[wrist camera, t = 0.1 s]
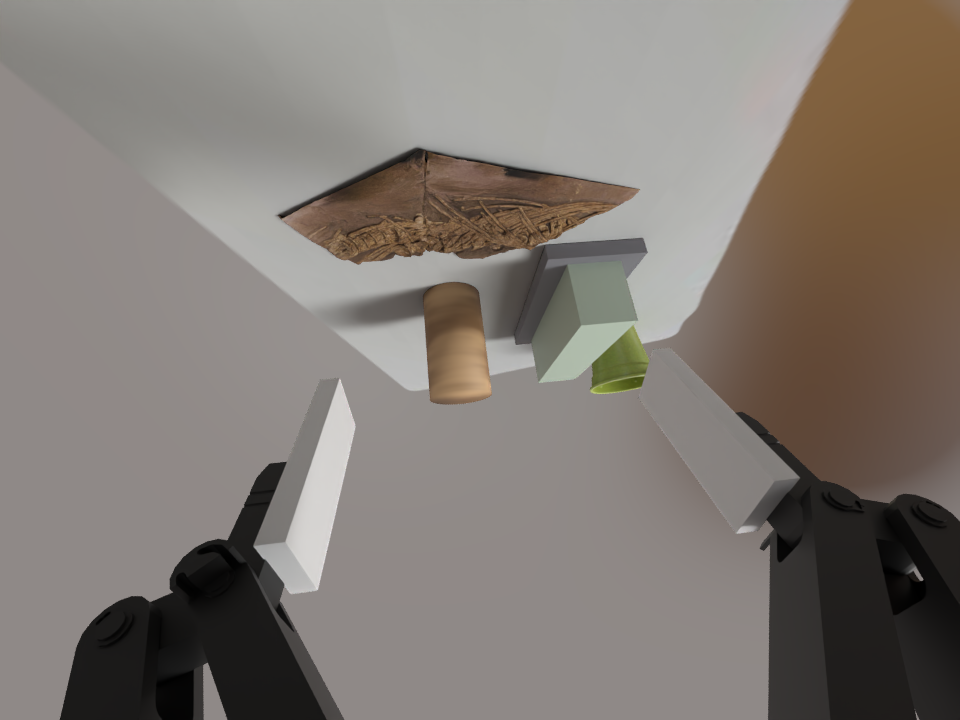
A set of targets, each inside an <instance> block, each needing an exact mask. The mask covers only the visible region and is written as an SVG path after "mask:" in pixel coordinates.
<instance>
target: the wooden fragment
mask: <svg viewBox="0 0 960 720" xmlns="http://www.w3.org/2000/svg"><path fill="white" fill-rule="evenodd" d="M426 152H427V151H425V150H419V151H417V152H416V153H414V154H412V155H411V156H410V157H409V158H407V160H406V161H403V162H400V163H398V164H396V165H394V166H391V167H389V168H388V169H385V170H383V171H381V172H378V173H376V174H374V175H372V176H370V177H368V178H366V179H363V180H361V181H359V182H357V183H354V184H352V185H350V186H348V187H346V188H343V189H341V190H339V191H337V192H335V193H332V194H331V195H329V196H327V197H324V198H322V199H320V200H318V201H314V202H313V203H312V204H309V205H306V206H304V207H303V208H301V209H299V210H298V211H295V212H294V213H292V214H291V215H288V216H286V217H285V218H282V217H281V216H279V217H280V219H281V220H283V221H284V222H285V223H287V224H288V225H289V226H291V227H293V228H294V229H295V230H296V231H298V232H299V233H300V234H302V235H303V236H305V237H307V238H308V239H310V240H311V241H312V242H315V243H316V244H318V245H320V246H322V247H324V248H327V249H328V251H329V252H331V253H333V255H335V256H336V257H337V258H339V259H341V260H350V261H352V262H354V263H356V264H358V265H359V264H361V263H362V262H371V261H383V260H388V259H391V258H393V257H394V255H395V254H396V255H399V256H404V257H411V256H412V255H416V256H421V255H423V252H424V251H425V249H426V250H427V251H429V252H430V251H433V250H434V251H436V252H440V253H442V252H443V253H451V252H454V253H455V254H456V255H457V256H458V257H460V258H464V259H475V258H481V259H483V258H485V257H489V256H491V255H496V254H498V253H504V252H506V251H508V250H514V249H520V248H526V249H529V250H531V249H533V248H535V246H537V245H538V244H540V243H544V242H547V241H548V240H550V239H556V238H558V237H559V236H561V234H562V233H563V232H565V231H567V230H569V229H572V228H574V227H576V226H577V225H579V224H582V223H584V222H585V221H586V220H587V219H588V218H590V217H593V216H595V215H599V214H602V213H605V212H607V211H609V210H611V209H613V208H615V207H617V206H619V205H620V204H622V203H623V202H625V201H628V200H630V199H631V198H633V196H634V195H635V194H636V193H638V191H639V190H640V189H633V188H629V187H622V186H614V185H607V184H602V183H596V182H590V181H584V180H579V179H574V178H566V177H560V176H554V175H546V174H538V173H527V172H523V171H517V170H510V169H507V168H504V167H498V166H494V165H489V164H484V163H478V162H470V161H466V160H464V159H463V160H461V159H459V160H457V159H454V158H451V157H447V156H441V155H436V154H433V153H431V152H427V153H428V160H427V163H426V162H425V156H426V155H425V153H426Z"/></svg>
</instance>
